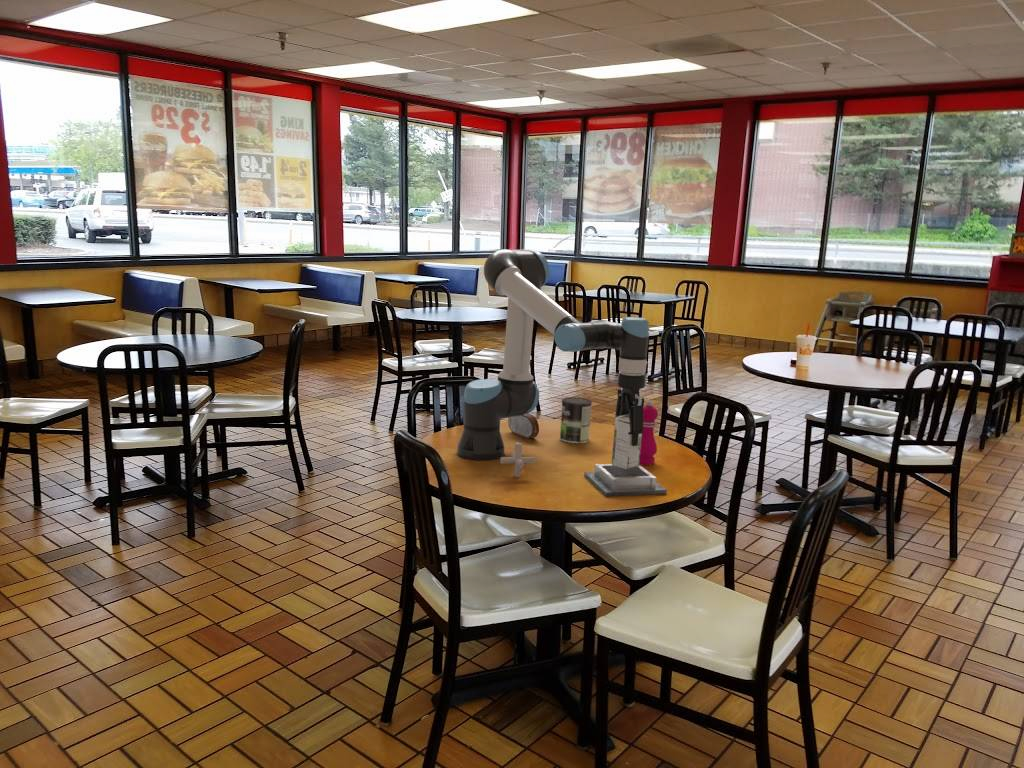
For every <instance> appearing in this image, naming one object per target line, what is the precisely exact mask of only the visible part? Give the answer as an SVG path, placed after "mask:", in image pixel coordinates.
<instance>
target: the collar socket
mask: <svg viewBox="0 0 1024 768" xmlns="http://www.w3.org/2000/svg"><path fill="white" fill-rule="evenodd" d="M583 477H584V478H585V479H586V480H588V481H589V483H591V484H592V485H593V486H594V487H595V488H596V489H597V490H598V491H599V492H600V493H601V494H602V495H603V496H605V497H606V498H607V497H627V496H628V497H629V496H630V497H632V496H650V495H651V496H652V495H667V493H668V492H667V490H668V489H667V488H666V487H664V486H663V485H661V484H660V483H658V482H657V477H656V476H655V475H654V474H652V473H651V472H650V471H648V470H647V469H645V468H644V467H643V465H641V464H639V466H637V467H634V468H630V469H624V468H620V467H617V466H614V465H612V463H606V464H603V463H602V464H600V463H595V464H594V471H584V475H583Z"/></svg>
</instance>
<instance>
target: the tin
mask: <svg viewBox="0 0 1024 768" xmlns="http://www.w3.org/2000/svg"><path fill="white" fill-rule="evenodd" d="M507 421H508V427H509V430H510V431H511V432H512V433H513V434H515V435H517V434H518V435H517V436H520V437H522V436H523V437H522V438H525V437H526V438H525V439H527V438H530V439H532V438H533V439H534V438H535V439H536V438H537V436H538V435H539V432H540V426H539V422H538V419H537V418H536V417H535V416H534V415H533V414H531V413H528V414H524V415H522V416H514V417H508V419H507Z"/></svg>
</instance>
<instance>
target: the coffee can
mask: <svg viewBox="0 0 1024 768" xmlns="http://www.w3.org/2000/svg"><path fill="white" fill-rule="evenodd" d="M592 404H593V402H592V400H590V399H588V398H584V397H577V396H576V397H574V396H572V397H571V396H570V397H564V398H562V399H561V417H560V431H559V433H560V434H559V436H560V437H559V440H561V441H562V442H565V443H567V442H568V443H567V444H569V443H570V444H574V443H576V444H577V443H581V444H586V443H588V442H589V441H590V428H591V427H590V426H591V412H592V411H591V410H592Z"/></svg>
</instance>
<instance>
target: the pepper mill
mask: <svg viewBox="0 0 1024 768" xmlns="http://www.w3.org/2000/svg"><path fill="white" fill-rule="evenodd" d="M658 414H659V413H658V409H657V408H656V407H654V406H653V403H652V401H651V400H647V401H646V402H645V405H644V406H643V433H642V439H641V450H640V462H639V465H641V464H642V465H641V466H651V465H650V464H652V465H654V464H655V462H656V461H655V459H656V458H655V455H656V454H657V452H658V447H657V443H656V439H655V435H654V429H655V426H656V420H657V418H658V416H659V415H658Z"/></svg>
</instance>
